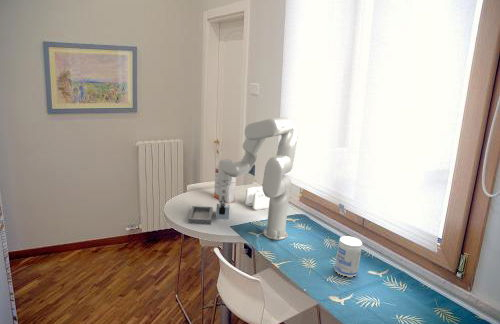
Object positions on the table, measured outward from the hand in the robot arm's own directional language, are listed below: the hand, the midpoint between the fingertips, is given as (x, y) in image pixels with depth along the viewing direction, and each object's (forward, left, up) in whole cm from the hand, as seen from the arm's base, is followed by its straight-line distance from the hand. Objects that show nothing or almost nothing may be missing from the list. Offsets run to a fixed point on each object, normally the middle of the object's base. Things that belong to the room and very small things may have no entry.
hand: (222, 210), depth 207 cm
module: (0, 0, -4) cm, 4 cm away
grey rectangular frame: (-1, +12, -4) cm, 12 cm away
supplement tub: (-55, -54, -4) cm, 77 cm away
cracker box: (+30, -1, -4) cm, 30 cm away
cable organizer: (+20, -23, -4) cm, 30 cm away
